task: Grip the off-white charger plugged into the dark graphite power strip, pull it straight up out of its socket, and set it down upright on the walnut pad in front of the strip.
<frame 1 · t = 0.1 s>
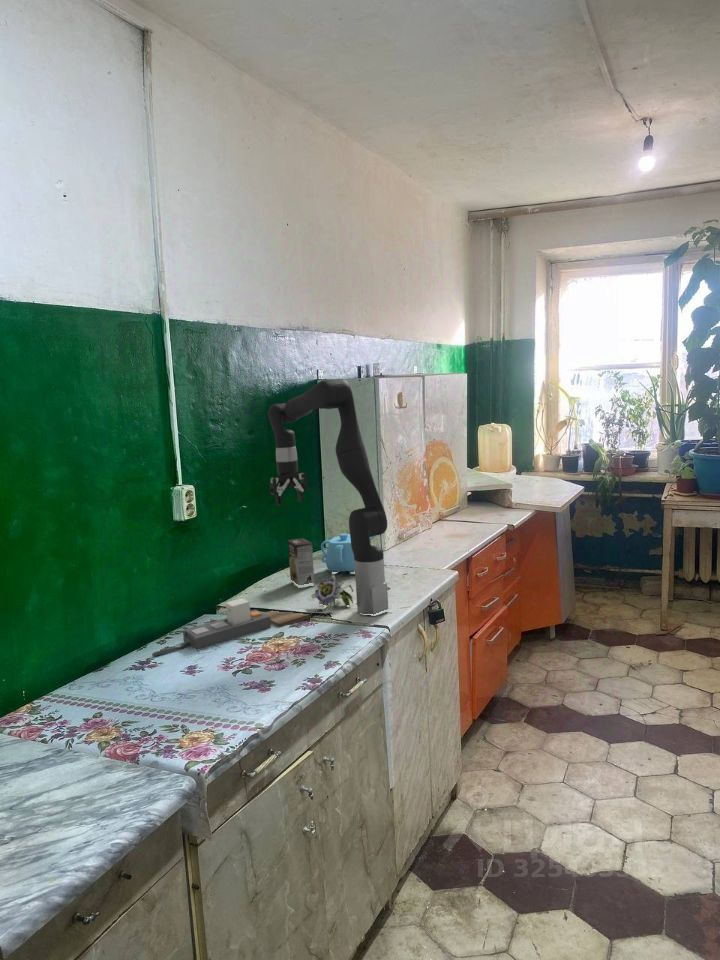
hand: (290, 504, 247), 29 cm above the countertop, tool pointing down, fingers open, 8 cm apart
passion flower: (333, 605, 224), on the countertop
walnut pad: (285, 617, 215), on the countertop
teapot: (350, 571, 262), on the countertop
charger: (239, 624, 206), point 2 cm above the countertop, touching power strip
coffee box: (302, 584, 248), on the countertop
power strip: (228, 634, 204), on the countertop
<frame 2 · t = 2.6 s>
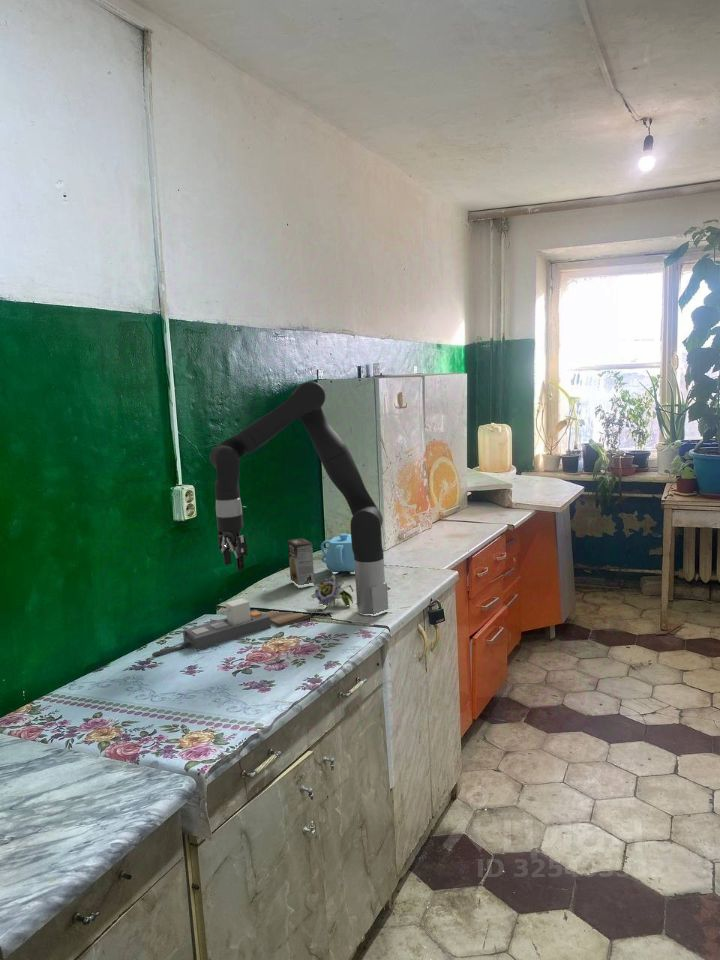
hand: (234, 567, 203), 20 cm above the countertop, tool pointing down, fingers open, 8 cm apart
nothing on the countertop moved.
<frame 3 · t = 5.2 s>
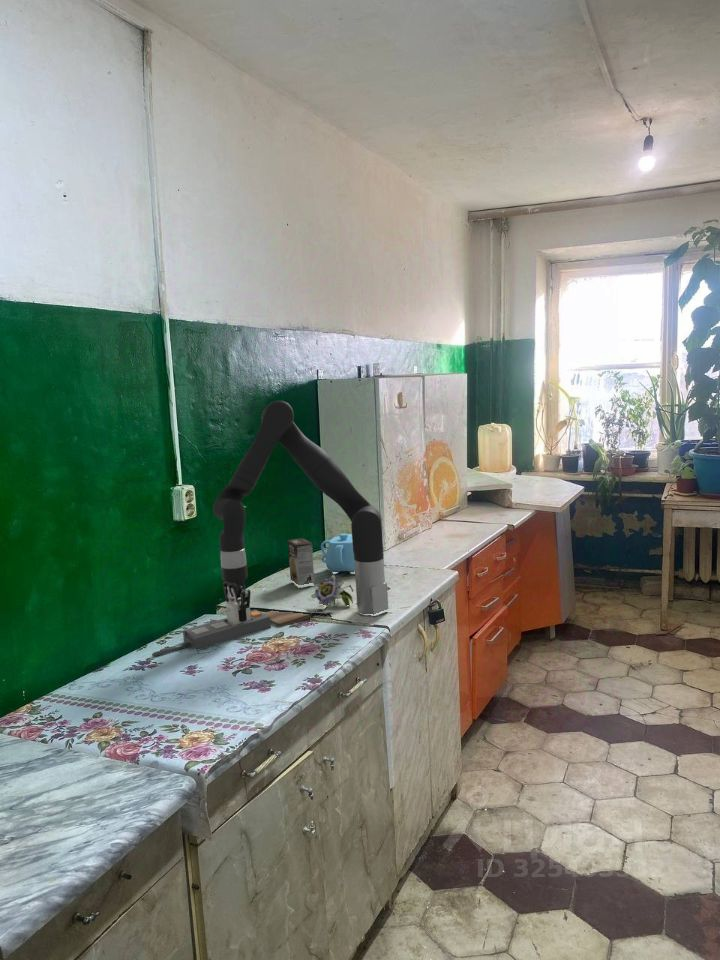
hand: (239, 618, 205), 4 cm above the countertop, tool pointing down, fingers closed on charger, 4 cm apart
charger: (239, 624, 206), point 2 cm above the countertop, touching gripper, power strip
everything else where it was.
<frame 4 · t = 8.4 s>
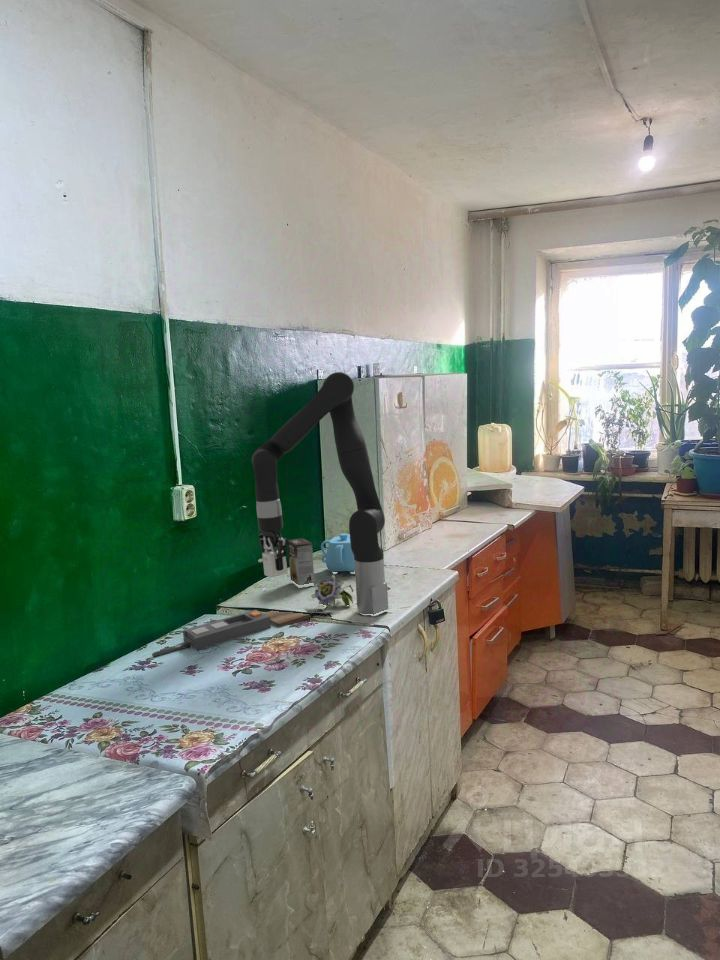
hand: (275, 568, 211), 17 cm above the countertop, tool pointing down, fingers closed on charger, 4 cm apart
charger: (276, 574, 211), point 15 cm above the countertop, touching gripper
everything else where it was.
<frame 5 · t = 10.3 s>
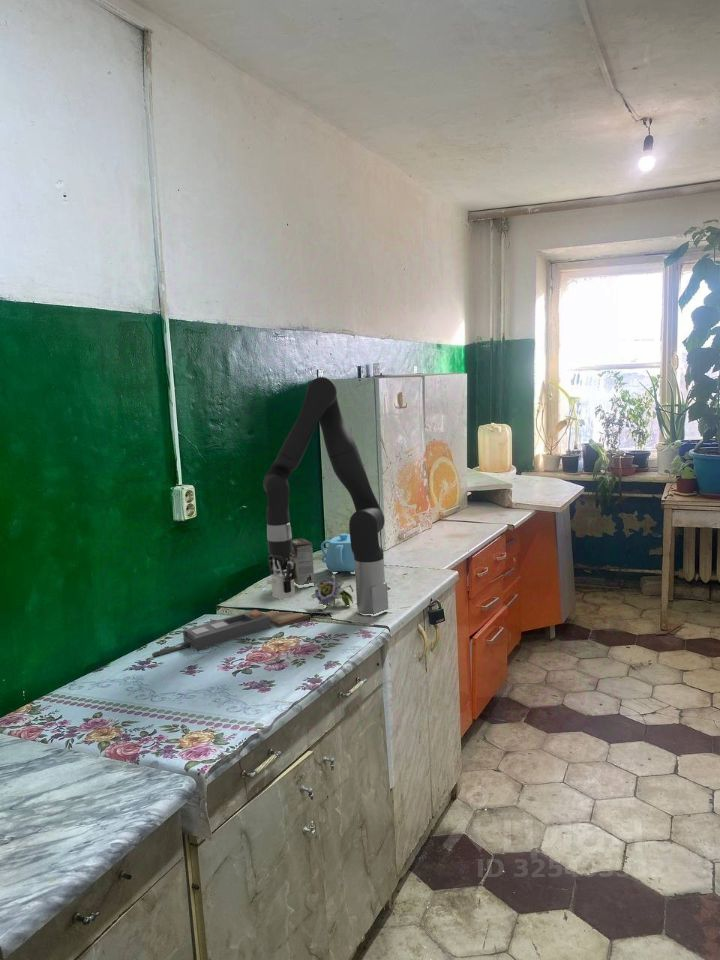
hand: (283, 590, 214), 9 cm above the countertop, tool pointing down, fingers closed on charger, 4 cm apart
charger: (283, 595, 215), point 7 cm above the countertop, touching gripper
everything else where it was.
when the fingers open (4 cm above the countertop, at t = 12.0 s): charger drops 1 cm, resting on walnut pad.
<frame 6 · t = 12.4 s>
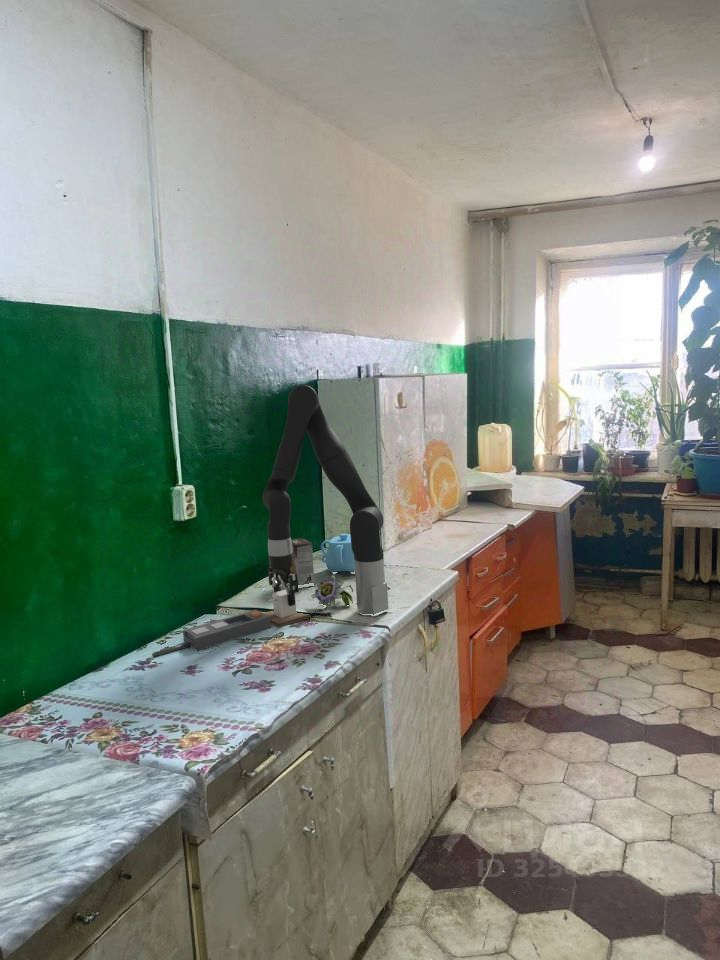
hand: (284, 602, 215), 5 cm above the countertop, tool pointing down, fingers open, 8 cm apart
charger: (285, 613, 215), point 1 cm above the countertop, touching walnut pad
everything else where it was.
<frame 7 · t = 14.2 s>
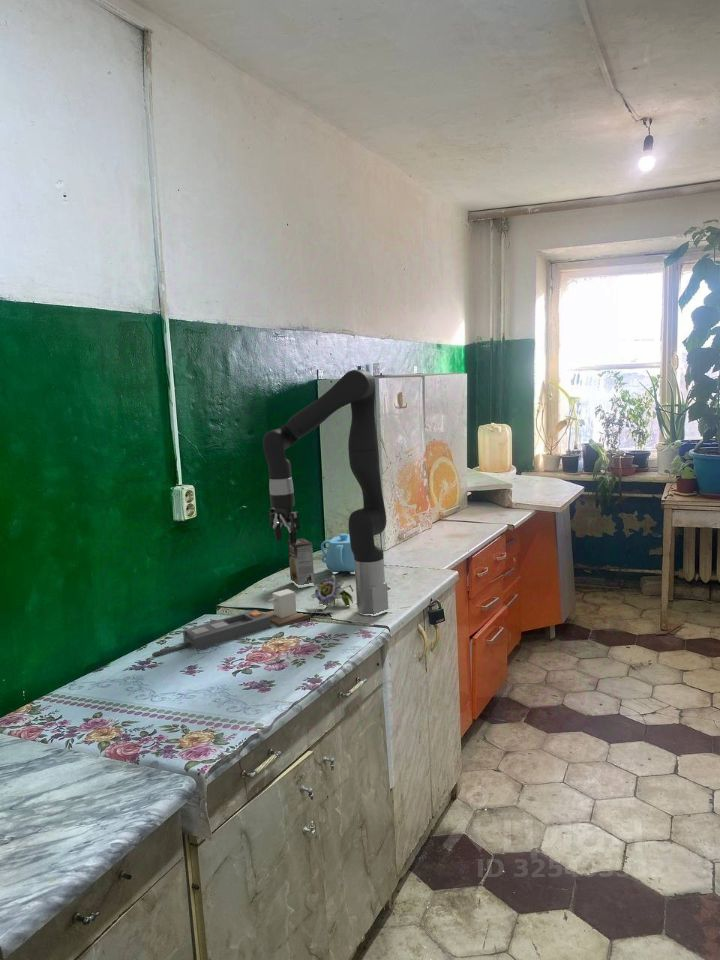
hand: (285, 541, 220), 22 cm above the countertop, tool pointing down, fingers open, 8 cm apart
nothing on the countertop moved.
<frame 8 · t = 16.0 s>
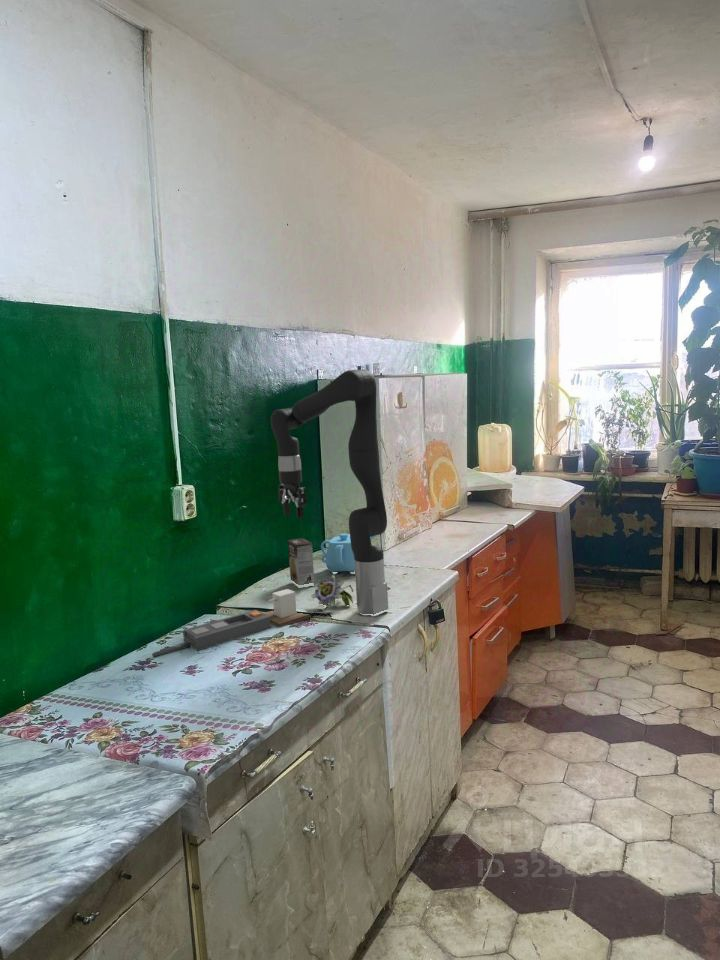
hand: (293, 516, 230), 28 cm above the countertop, tool pointing down, fingers open, 8 cm apart
nothing on the countertop moved.
at the end: charger inside the target area on the walnut pad (0.2 cm from its centre), point 1.0 cm above the walnut pad's base; charger tilted 0°; charger touching walnut pad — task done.
